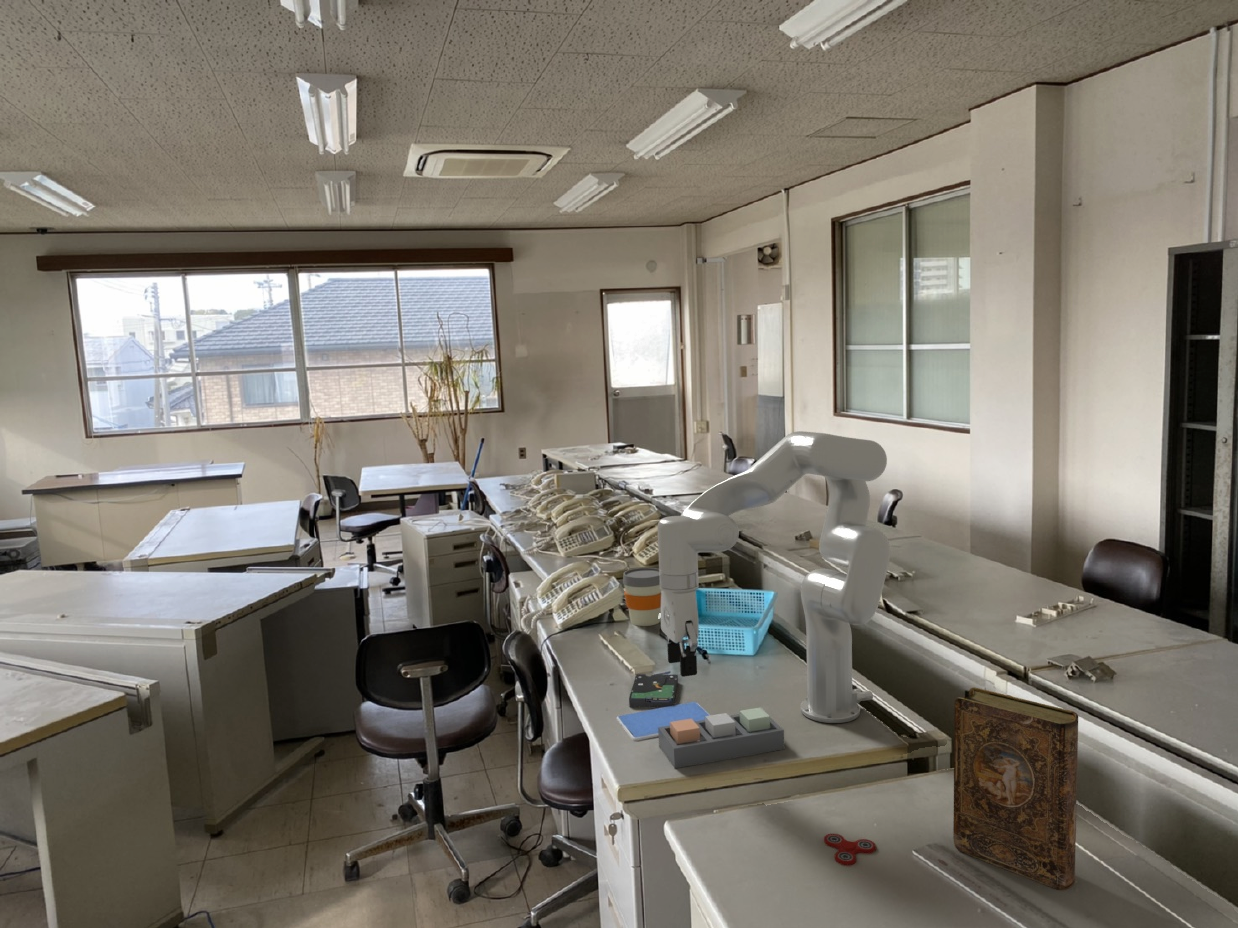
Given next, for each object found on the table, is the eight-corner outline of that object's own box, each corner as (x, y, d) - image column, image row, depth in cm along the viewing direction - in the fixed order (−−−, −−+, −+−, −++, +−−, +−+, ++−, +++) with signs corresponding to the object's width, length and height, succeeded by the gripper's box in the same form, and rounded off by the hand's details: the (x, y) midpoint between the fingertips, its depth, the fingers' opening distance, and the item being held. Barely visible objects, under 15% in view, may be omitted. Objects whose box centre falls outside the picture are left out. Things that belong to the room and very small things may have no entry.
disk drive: (635, 684, 205) (629, 709, 191) (635, 673, 205) (628, 697, 191) (678, 685, 204) (674, 709, 190) (677, 673, 204) (674, 697, 189)
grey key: (726, 724, 172) (726, 712, 171) (735, 733, 167) (735, 721, 167) (705, 728, 170) (705, 716, 170) (713, 737, 166) (713, 725, 166)
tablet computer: (633, 744, 174) (633, 738, 174) (615, 720, 186) (614, 714, 186) (719, 727, 179) (718, 722, 179) (696, 705, 191) (695, 700, 191)
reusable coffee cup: (663, 613, 259) (661, 566, 257) (668, 626, 247) (666, 576, 245) (623, 616, 259) (621, 568, 257) (626, 629, 246) (623, 579, 244)
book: (1079, 875, 124) (1083, 713, 121) (1066, 893, 120) (1070, 726, 117) (968, 834, 135) (969, 685, 132) (953, 849, 131) (953, 696, 128)
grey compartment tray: (763, 728, 177) (762, 710, 176) (784, 749, 167) (783, 729, 167) (658, 745, 171) (658, 727, 171) (674, 768, 162) (673, 748, 161)
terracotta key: (692, 730, 170) (691, 718, 169) (700, 739, 165) (699, 727, 165) (670, 733, 168) (669, 722, 168) (677, 743, 164) (677, 731, 164)
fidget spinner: (821, 840, 137) (821, 832, 136) (865, 835, 137) (865, 827, 137) (839, 869, 129) (839, 861, 128) (885, 864, 129) (885, 856, 129)
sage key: (760, 718, 173) (760, 707, 173) (770, 728, 169) (769, 716, 169) (739, 722, 172) (739, 710, 172) (748, 731, 168) (748, 719, 168)
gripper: (647, 571, 170) (651, 656, 173) (674, 593, 154) (678, 687, 156) (682, 568, 172) (685, 651, 174) (713, 589, 156) (716, 681, 158)
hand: (682, 667), depth 165 cm, fingers open, 6 cm apart
